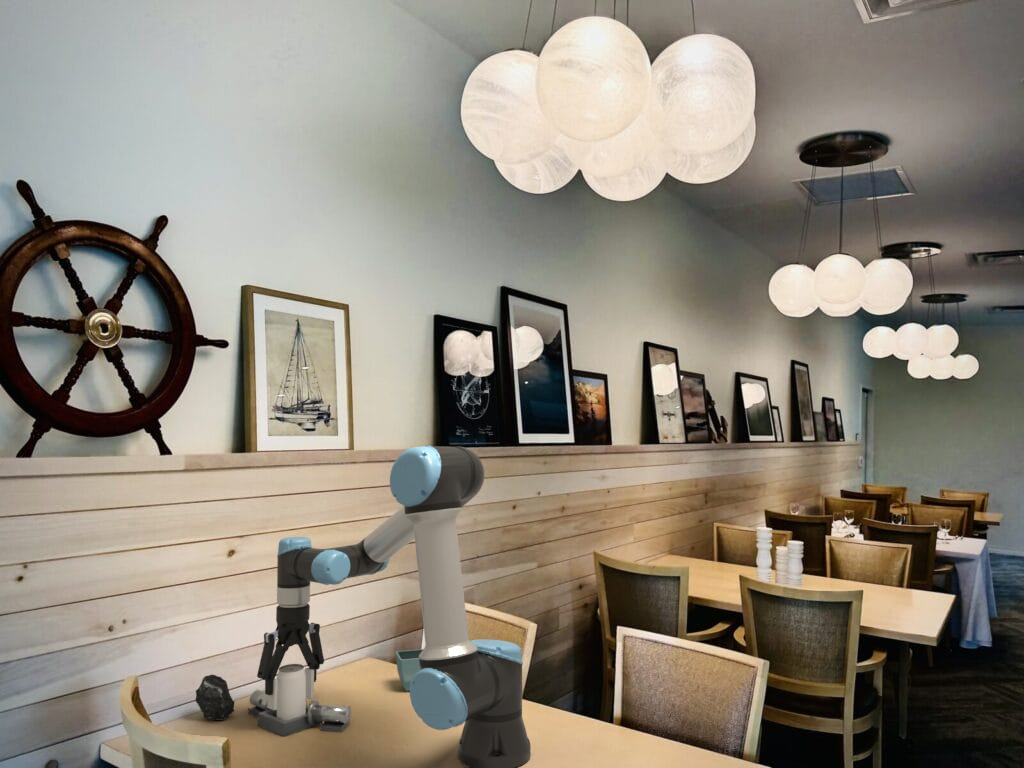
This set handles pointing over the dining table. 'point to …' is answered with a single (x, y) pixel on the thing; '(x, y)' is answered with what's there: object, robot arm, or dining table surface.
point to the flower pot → (407, 666)
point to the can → (291, 692)
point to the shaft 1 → (258, 703)
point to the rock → (214, 698)
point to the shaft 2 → (329, 716)
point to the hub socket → (283, 723)
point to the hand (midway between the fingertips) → (290, 702)
